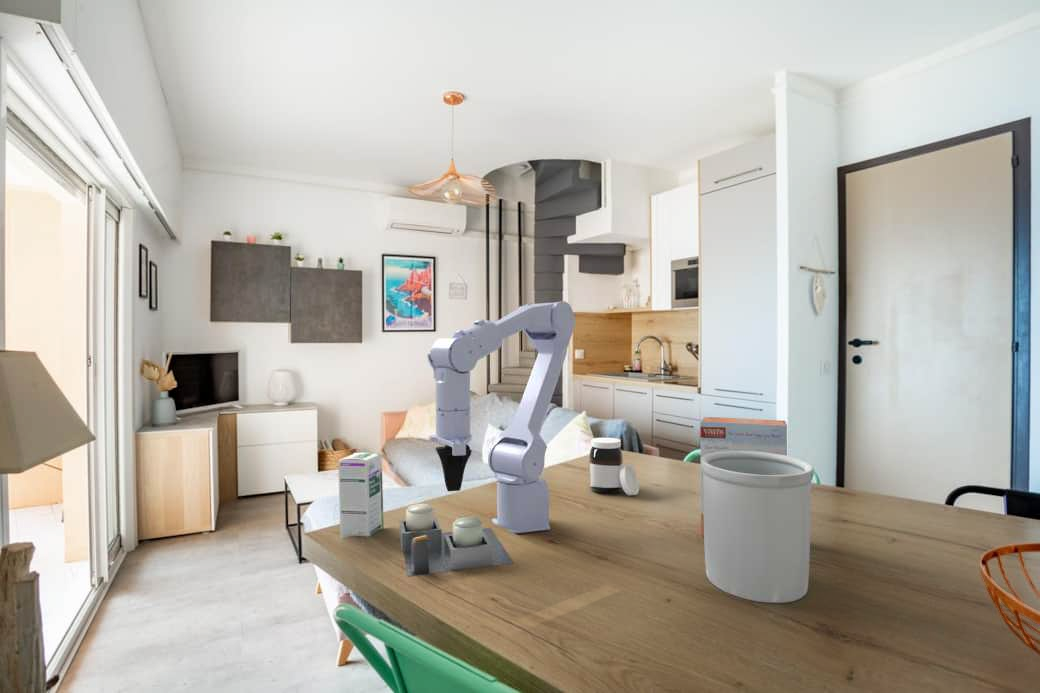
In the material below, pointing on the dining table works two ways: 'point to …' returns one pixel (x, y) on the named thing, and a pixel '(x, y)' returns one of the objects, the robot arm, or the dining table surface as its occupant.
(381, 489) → the syrup box
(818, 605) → the dining table surface
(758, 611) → the dining table surface
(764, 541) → the utensil holder
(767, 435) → the cracker box
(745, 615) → the dining table surface
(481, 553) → the mount panel
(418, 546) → the dial post
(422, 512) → the knob cream
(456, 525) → the knob sage
